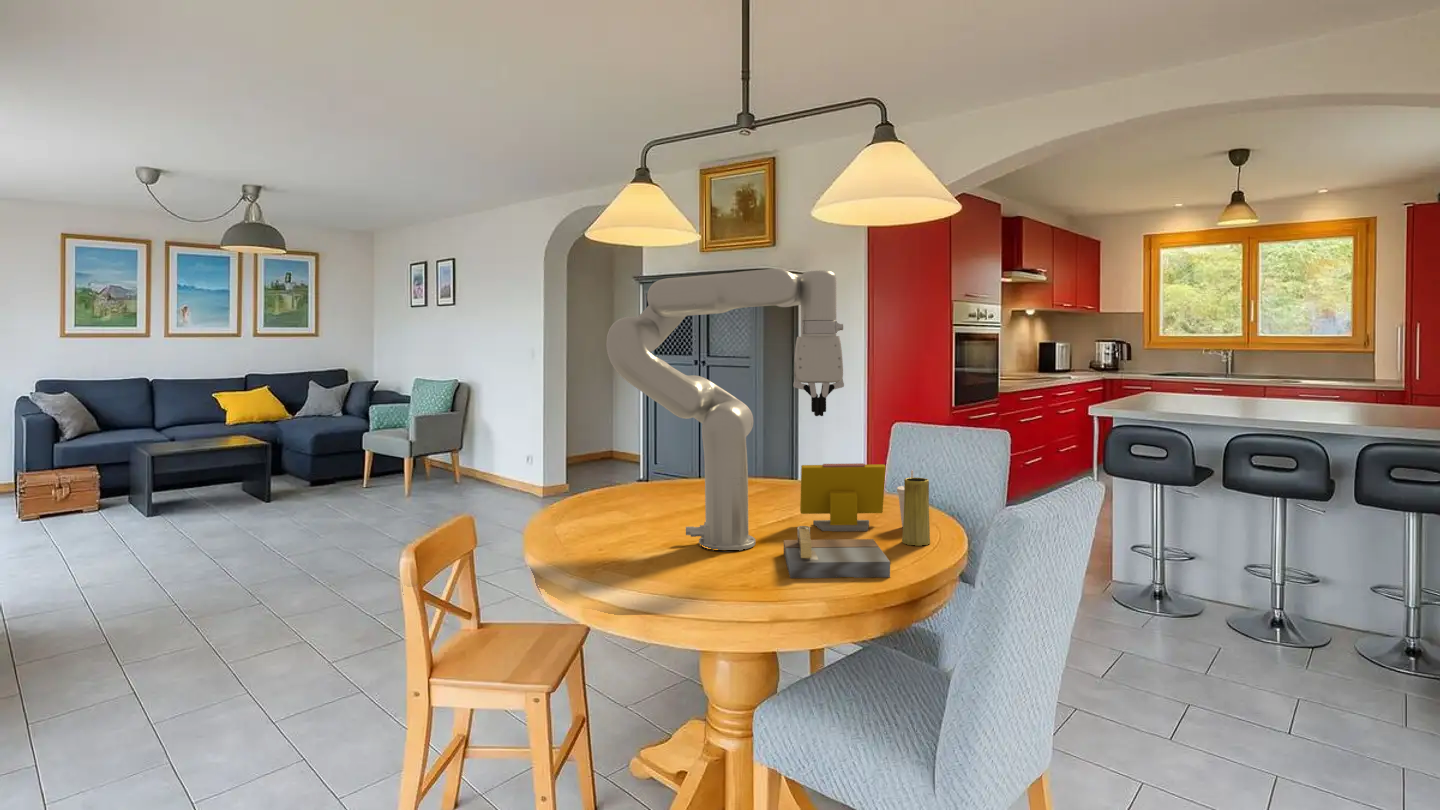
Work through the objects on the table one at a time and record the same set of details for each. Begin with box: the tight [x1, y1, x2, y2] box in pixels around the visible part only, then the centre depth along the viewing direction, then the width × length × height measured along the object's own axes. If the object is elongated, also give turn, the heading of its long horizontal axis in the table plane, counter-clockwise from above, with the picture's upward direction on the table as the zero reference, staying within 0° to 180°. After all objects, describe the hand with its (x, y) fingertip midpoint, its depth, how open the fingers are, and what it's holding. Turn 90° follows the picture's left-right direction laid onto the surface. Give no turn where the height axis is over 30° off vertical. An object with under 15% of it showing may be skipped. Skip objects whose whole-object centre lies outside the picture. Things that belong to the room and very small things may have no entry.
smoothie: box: [896, 469, 914, 528], centre depth 185 cm, size 6×6×14 cm
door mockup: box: [783, 538, 891, 579], centre depth 155 cm, size 19×17×3 cm
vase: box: [901, 477, 931, 547], centre depth 171 cm, size 6×6×14 cm
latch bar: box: [796, 525, 812, 558], centre depth 155 cm, size 14×3×3 cm, turn 176°
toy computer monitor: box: [799, 462, 887, 532], centre depth 186 cm, size 20×8×16 cm, turn 88°
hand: (818, 415), depth 165 cm, fingers closed
